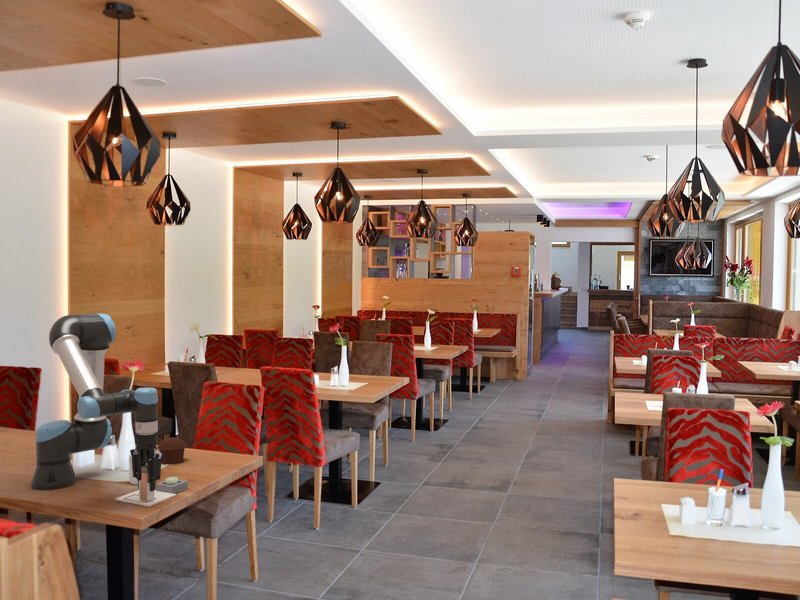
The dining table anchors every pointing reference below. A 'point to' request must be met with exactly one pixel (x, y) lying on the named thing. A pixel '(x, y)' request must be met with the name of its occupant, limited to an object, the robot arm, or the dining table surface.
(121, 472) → the dining table surface
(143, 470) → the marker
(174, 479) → the button
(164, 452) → the muffin
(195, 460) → the dining table surface
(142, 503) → the sheet
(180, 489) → the button housing
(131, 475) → the mug
